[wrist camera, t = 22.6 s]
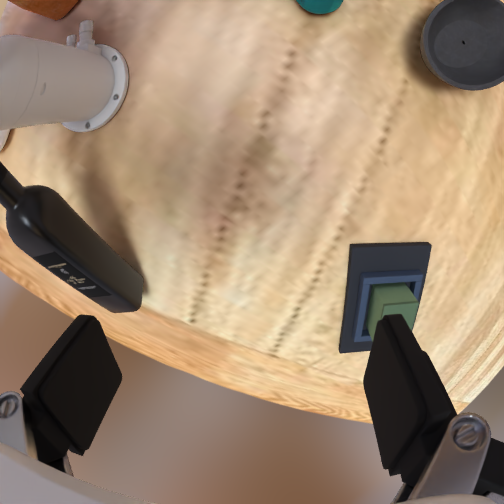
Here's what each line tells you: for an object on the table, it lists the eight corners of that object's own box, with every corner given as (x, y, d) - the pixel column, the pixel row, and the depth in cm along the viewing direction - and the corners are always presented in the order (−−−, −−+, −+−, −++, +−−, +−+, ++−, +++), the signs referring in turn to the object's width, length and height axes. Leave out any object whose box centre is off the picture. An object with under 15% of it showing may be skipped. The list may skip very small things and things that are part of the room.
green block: (372, 283, 38) (384, 305, 33) (404, 281, 38) (419, 302, 32) (365, 324, 41) (374, 348, 36) (395, 321, 40) (407, 344, 35)
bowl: (512, 58, 23) (537, 55, 17) (433, 113, 29) (459, 114, 23) (470, -8, 19) (491, -19, 14) (379, 34, 26) (397, 20, 20)
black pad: (349, 243, 37) (355, 252, 35) (428, 241, 36) (437, 249, 34) (338, 348, 44) (341, 360, 42) (405, 341, 43) (410, 352, 41)
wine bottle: (142, 312, 38) (-31, 162, 13) (110, 314, 39) (-55, 185, 14) (145, 275, 41) (2, 116, 16) (114, 279, 42) (-27, 141, 16)
